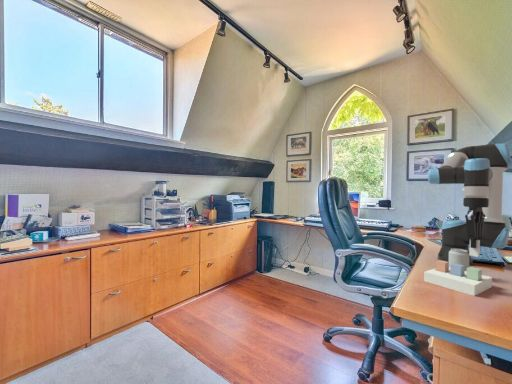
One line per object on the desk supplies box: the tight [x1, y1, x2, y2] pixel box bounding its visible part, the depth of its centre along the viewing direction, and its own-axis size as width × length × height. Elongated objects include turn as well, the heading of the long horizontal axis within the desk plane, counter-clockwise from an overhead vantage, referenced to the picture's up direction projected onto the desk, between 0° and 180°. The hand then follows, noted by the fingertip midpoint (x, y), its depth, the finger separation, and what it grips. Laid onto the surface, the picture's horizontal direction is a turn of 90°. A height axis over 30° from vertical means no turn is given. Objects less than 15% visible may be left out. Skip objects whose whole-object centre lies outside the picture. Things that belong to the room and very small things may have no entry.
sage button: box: [467, 266, 483, 281], centre depth 97 cm, size 4×4×5 cm
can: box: [449, 248, 470, 271], centre depth 113 cm, size 8×8×12 cm
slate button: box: [450, 263, 465, 277], centre depth 102 cm, size 4×4×5 cm
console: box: [423, 267, 493, 297], centre depth 102 cm, size 18×17×4 cm
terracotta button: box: [434, 259, 449, 273], centre depth 107 cm, size 4×4×5 cm
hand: (474, 255), depth 97 cm, fingers closed
